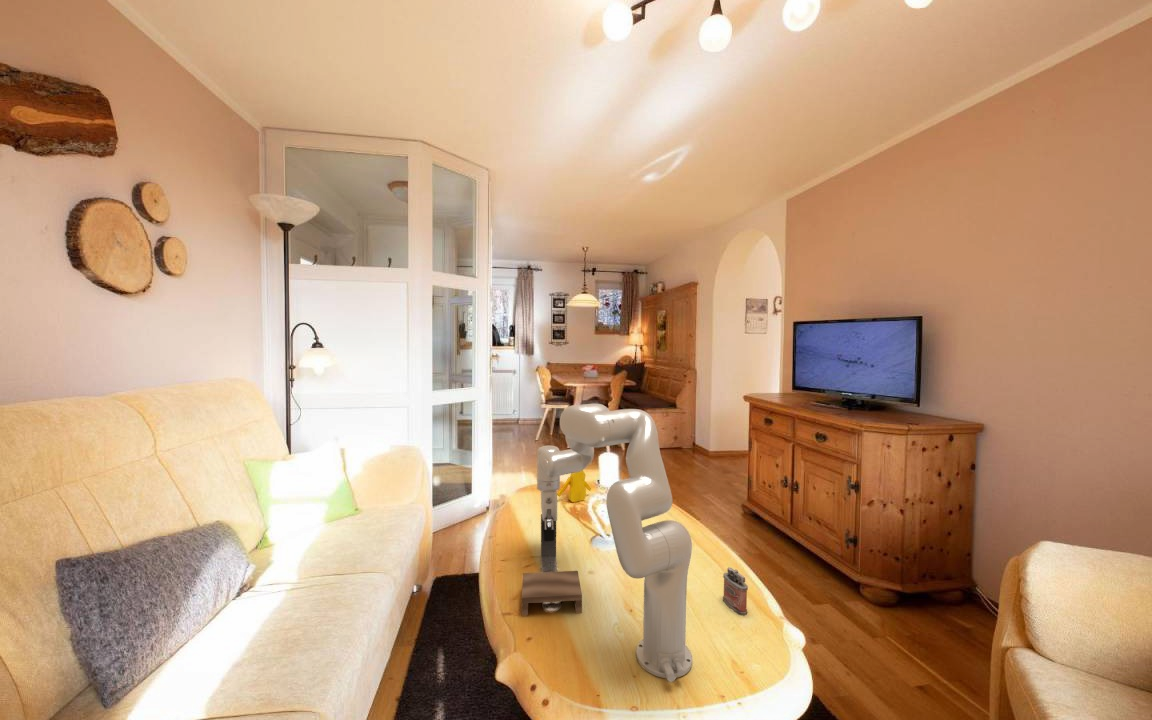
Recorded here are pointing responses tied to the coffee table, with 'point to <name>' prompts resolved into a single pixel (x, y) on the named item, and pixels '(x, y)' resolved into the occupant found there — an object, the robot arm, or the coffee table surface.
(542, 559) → the pusher tool
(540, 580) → the low table
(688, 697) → the coffee table surface
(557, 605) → the steel token
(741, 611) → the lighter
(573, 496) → the figure statuette
